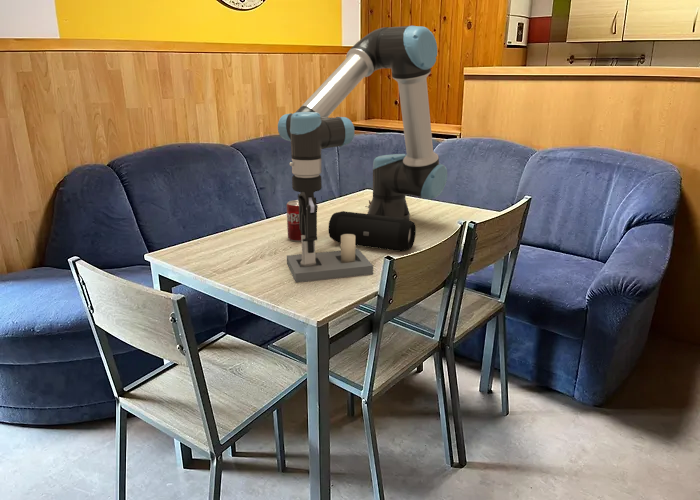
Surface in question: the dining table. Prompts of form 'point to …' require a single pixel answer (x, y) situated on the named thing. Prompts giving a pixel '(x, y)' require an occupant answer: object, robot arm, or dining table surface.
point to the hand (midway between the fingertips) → (308, 260)
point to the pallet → (332, 263)
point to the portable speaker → (373, 230)
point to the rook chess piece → (304, 259)
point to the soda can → (293, 221)
